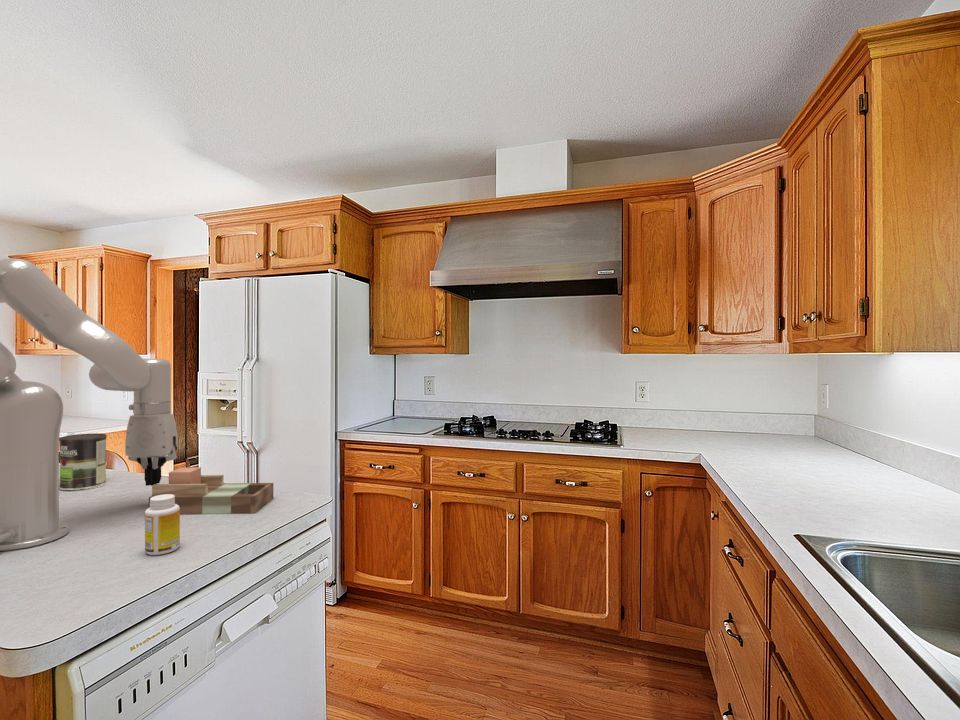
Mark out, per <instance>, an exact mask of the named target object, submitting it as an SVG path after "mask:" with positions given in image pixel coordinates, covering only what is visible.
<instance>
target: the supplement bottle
mask: <svg viewBox="0 0 960 720" xmlns="http://www.w3.org/2000/svg"><path fill="white" fill-rule="evenodd" d="M180 515H181V514H180V507H179V505H177V504H175V496H174V495H172V494H164V495H158V496H154V497H152V498H150V508H149V507H148V508H146V510H145V511H144V543H145V544H144V550H145V551H144V552H145V553H146V554H147V555H149V556H160V555H166V554H170V553H171V552H172V553H173V552H174V551H176V550H177V549H178V548H179V547H180V543H181V541H180V540H181V537H180V536H181V533H180V532H181V527H180V526H181V523H180V522H181V521H180V519H181V518H180V517H181V516H180Z"/></svg>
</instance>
